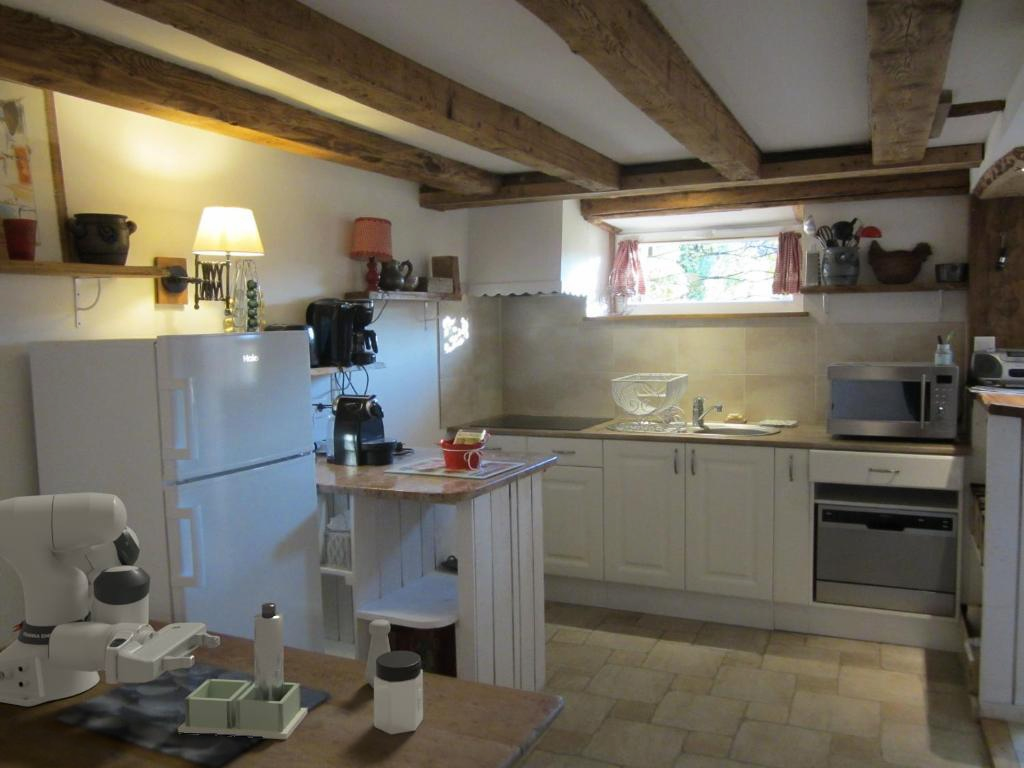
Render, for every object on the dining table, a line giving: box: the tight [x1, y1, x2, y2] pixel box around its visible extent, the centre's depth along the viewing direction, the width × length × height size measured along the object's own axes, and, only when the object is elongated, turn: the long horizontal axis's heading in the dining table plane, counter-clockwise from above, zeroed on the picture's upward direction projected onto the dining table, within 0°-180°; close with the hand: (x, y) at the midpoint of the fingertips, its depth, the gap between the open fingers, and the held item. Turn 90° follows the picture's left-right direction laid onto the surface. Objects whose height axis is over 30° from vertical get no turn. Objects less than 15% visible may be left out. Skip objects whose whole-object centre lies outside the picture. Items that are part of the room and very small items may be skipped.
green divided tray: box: [177, 678, 308, 740], centre depth 146 cm, size 20×10×6 cm, turn 84°
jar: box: [373, 650, 424, 735], centre depth 146 cm, size 9×8×12 cm
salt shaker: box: [364, 619, 391, 689], centre depth 163 cm, size 6×6×13 cm
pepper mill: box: [253, 602, 285, 701], centre depth 145 cm, size 5×5×21 cm
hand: (205, 651), depth 146 cm, fingers open, 8 cm apart
